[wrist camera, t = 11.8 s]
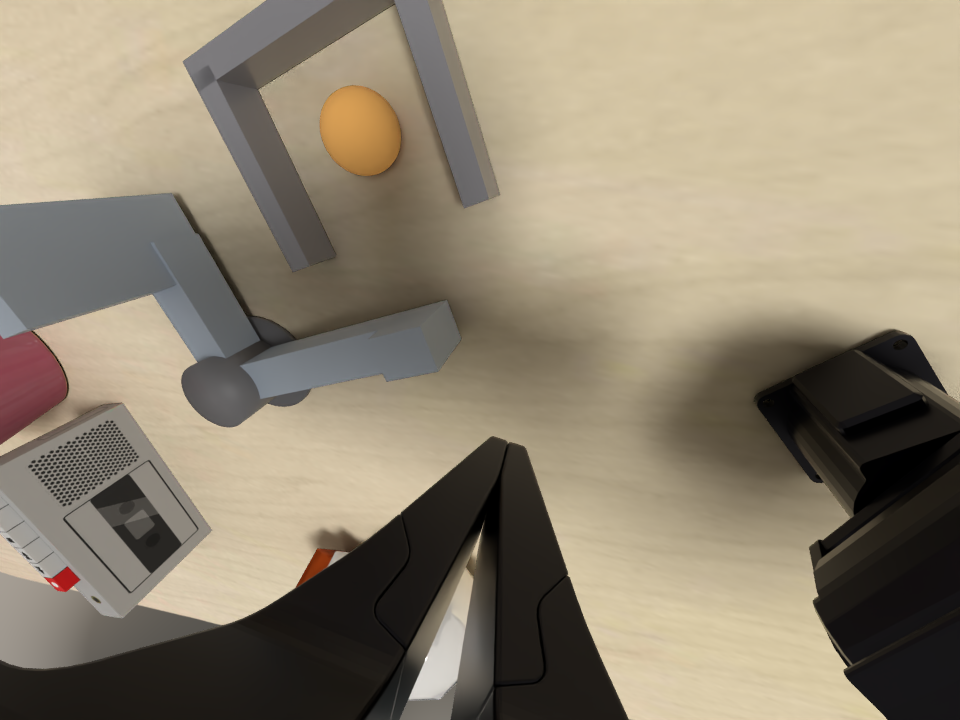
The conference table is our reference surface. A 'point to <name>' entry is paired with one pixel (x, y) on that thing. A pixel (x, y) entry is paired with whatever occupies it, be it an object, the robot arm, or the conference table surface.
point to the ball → (360, 130)
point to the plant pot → (27, 382)
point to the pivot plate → (274, 337)
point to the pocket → (287, 42)
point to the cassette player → (97, 509)
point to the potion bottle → (447, 643)
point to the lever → (191, 303)
